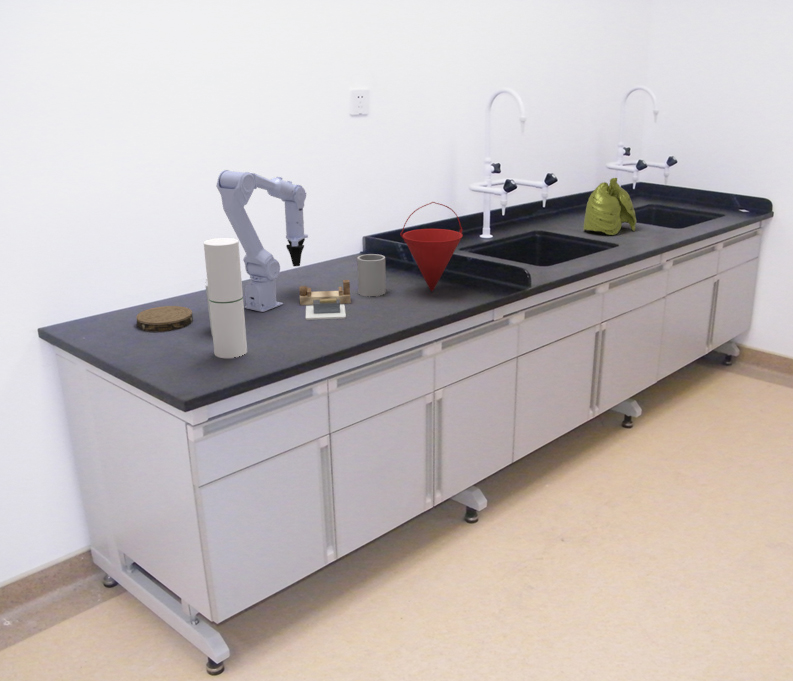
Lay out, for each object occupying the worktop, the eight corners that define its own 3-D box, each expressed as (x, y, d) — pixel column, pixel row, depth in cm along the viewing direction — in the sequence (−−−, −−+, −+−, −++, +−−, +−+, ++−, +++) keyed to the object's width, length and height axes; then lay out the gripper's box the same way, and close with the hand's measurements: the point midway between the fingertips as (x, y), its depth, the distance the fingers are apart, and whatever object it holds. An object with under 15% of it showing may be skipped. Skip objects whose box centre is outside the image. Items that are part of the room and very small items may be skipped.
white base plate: (305, 320, 226) (305, 318, 226) (306, 307, 237) (306, 305, 237) (345, 318, 227) (345, 316, 227) (344, 306, 238) (344, 304, 238)
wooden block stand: (299, 305, 240) (298, 285, 238) (300, 299, 246) (299, 280, 243) (350, 303, 241) (350, 283, 239) (349, 297, 247) (349, 278, 245)
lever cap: (313, 313, 230) (313, 301, 229) (313, 309, 234) (313, 298, 232) (340, 312, 231) (339, 301, 229) (339, 308, 234) (339, 297, 233)
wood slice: (164, 312, 235) (163, 303, 234) (204, 319, 228) (203, 310, 227) (125, 327, 222) (124, 318, 221) (166, 336, 215) (165, 326, 214)
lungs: (604, 238, 326) (609, 181, 318) (576, 232, 338) (581, 177, 330) (641, 230, 340) (647, 176, 331) (614, 225, 351) (619, 172, 343)
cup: (353, 294, 250) (352, 259, 246) (366, 287, 258) (365, 253, 254) (377, 298, 247) (377, 262, 242) (390, 290, 254) (389, 255, 250)
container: (218, 346, 206) (208, 237, 195) (250, 346, 205) (241, 237, 195) (210, 358, 198) (199, 245, 187) (243, 358, 197) (234, 245, 187)
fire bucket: (450, 280, 265) (452, 194, 255) (473, 296, 248) (475, 204, 237) (392, 286, 259) (391, 198, 249) (410, 302, 242) (410, 208, 231)
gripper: (306, 226, 237) (308, 268, 242) (307, 217, 251) (309, 257, 255) (284, 226, 236) (286, 269, 241) (285, 217, 250) (288, 257, 255)
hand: (296, 263), depth 248 cm, fingers open, 7 cm apart
